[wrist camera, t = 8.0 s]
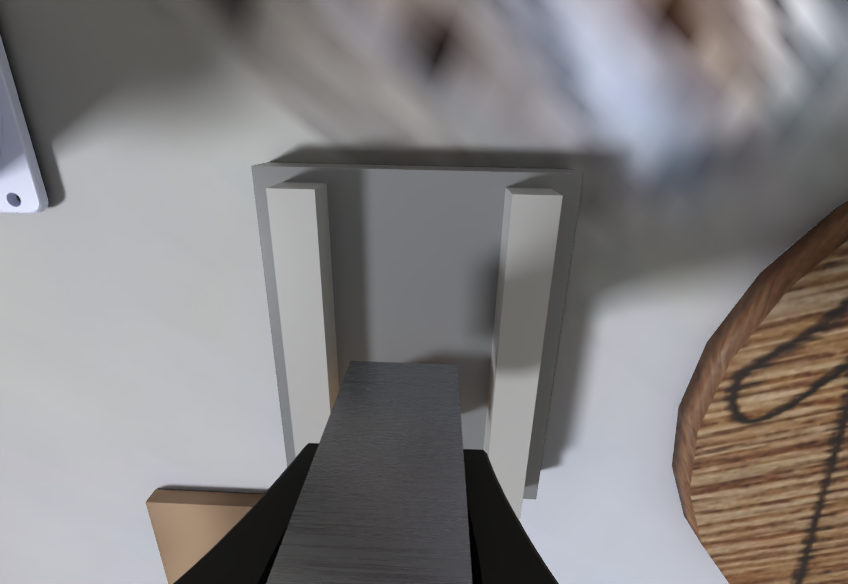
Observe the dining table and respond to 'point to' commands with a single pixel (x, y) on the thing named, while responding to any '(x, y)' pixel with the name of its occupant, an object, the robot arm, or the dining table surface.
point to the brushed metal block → (384, 484)
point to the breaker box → (421, 291)
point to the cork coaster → (193, 524)
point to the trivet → (774, 422)
